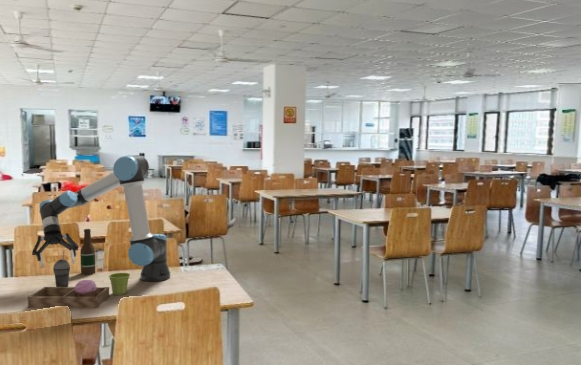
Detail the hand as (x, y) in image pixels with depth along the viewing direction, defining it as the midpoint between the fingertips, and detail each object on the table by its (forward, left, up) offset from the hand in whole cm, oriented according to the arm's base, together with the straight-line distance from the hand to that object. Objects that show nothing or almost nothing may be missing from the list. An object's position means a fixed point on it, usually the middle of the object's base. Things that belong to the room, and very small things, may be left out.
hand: (58, 264), depth 230 cm
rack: (-12, +16, -13) cm, 24 cm away
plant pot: (-29, +3, -13) cm, 32 cm away
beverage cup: (-2, +2, -13) cm, 13 cm away
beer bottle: (-1, -32, -13) cm, 35 cm away
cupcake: (-19, +16, -13) cm, 28 cm away
